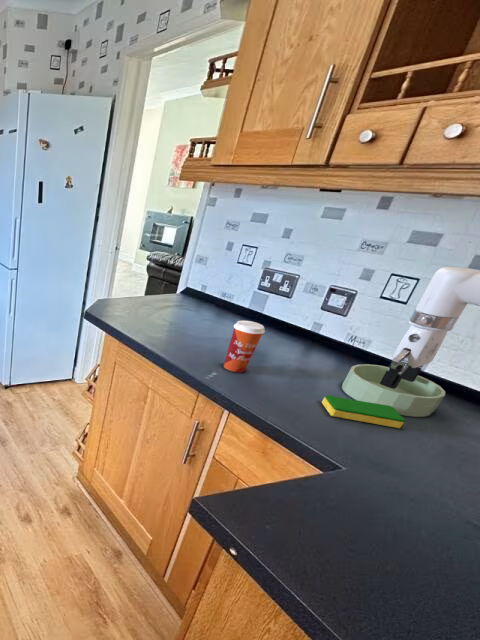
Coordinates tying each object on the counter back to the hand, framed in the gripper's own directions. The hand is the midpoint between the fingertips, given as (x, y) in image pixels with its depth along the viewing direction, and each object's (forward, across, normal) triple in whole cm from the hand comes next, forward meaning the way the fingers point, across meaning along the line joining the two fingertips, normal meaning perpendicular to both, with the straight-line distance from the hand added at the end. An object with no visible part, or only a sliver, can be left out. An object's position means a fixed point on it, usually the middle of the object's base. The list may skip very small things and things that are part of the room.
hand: (396, 382), depth 108 cm
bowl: (+5, 0, 0) cm, 5 cm away
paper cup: (+4, -22, +28) cm, 36 cm away
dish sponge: (+5, -17, -2) cm, 18 cm away
